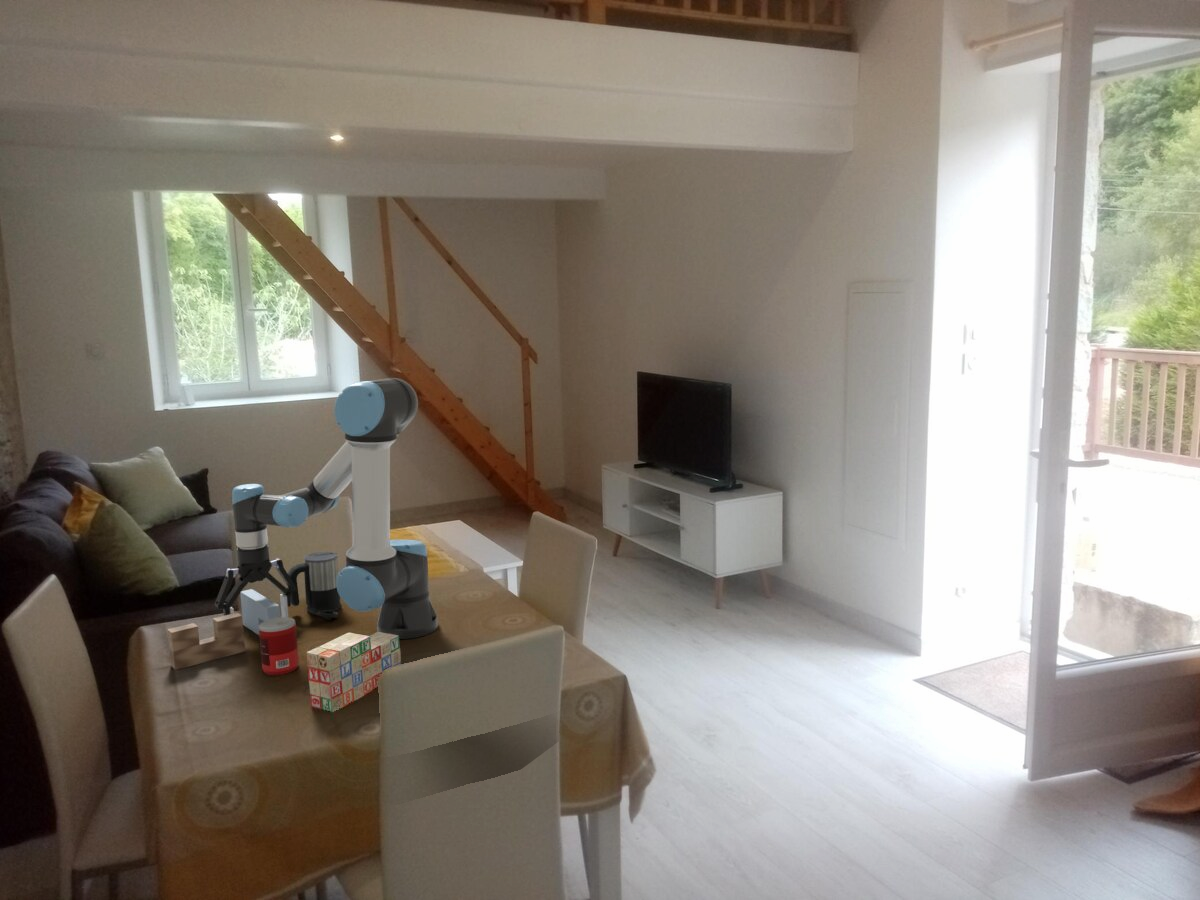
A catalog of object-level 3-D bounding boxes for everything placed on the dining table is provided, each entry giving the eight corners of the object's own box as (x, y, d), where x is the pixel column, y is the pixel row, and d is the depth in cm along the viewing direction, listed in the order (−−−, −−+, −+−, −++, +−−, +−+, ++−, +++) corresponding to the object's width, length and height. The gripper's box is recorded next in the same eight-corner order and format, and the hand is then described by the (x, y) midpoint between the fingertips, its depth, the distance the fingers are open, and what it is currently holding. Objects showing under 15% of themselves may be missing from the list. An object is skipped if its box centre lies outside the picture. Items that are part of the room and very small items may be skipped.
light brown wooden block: (240, 647, 220) (237, 612, 218) (245, 651, 218) (242, 615, 216) (171, 666, 209) (167, 629, 208) (175, 669, 207) (171, 632, 206)
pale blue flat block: (282, 639, 225) (279, 605, 223) (270, 643, 223) (267, 608, 221) (254, 621, 238) (251, 589, 236) (243, 624, 236) (240, 591, 234)
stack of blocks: (381, 670, 205) (377, 618, 203) (402, 674, 202) (399, 622, 200) (310, 707, 187) (305, 651, 185) (332, 713, 184) (328, 656, 182)
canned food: (305, 664, 209) (302, 618, 207) (283, 677, 202) (279, 630, 200) (278, 660, 212) (274, 615, 210) (255, 673, 204) (251, 627, 202)
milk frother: (328, 600, 254) (324, 549, 252) (364, 610, 245) (361, 558, 242) (284, 615, 243) (280, 561, 240) (321, 626, 233) (317, 571, 231)
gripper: (294, 533, 239) (300, 610, 242) (196, 552, 222) (204, 634, 226) (306, 538, 233) (312, 617, 236) (206, 558, 217) (214, 642, 220)
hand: (259, 625), depth 231 cm, fingers open, 13 cm apart
